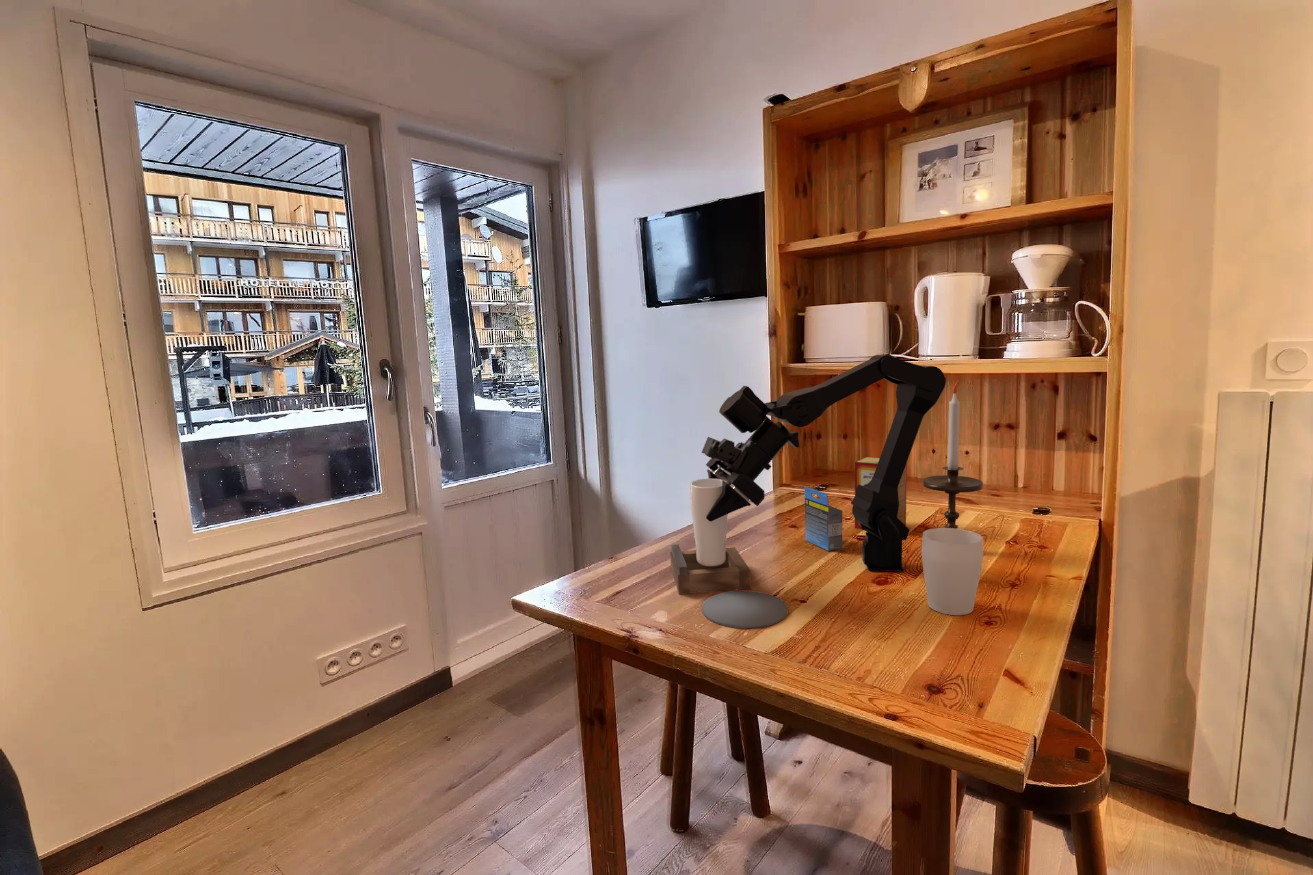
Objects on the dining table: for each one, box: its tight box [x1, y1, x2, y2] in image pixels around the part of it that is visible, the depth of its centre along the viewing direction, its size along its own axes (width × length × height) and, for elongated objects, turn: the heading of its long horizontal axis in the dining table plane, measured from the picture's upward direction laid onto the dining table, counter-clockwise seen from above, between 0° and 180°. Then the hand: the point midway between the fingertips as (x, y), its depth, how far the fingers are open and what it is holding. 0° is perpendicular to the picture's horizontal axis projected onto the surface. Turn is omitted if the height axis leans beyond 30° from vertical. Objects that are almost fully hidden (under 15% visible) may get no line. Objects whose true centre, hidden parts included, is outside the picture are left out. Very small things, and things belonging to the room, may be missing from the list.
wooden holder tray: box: [669, 544, 752, 595], centre depth 121 cm, size 13×13×5 cm
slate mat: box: [701, 590, 789, 629], centre depth 107 cm, size 14×14×1 cm
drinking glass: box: [689, 478, 729, 566], centre depth 117 cm, size 7×7×15 cm
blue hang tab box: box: [803, 485, 843, 552], centre depth 137 cm, size 9×4×12 cm, turn 20°
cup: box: [920, 527, 984, 616], centre depth 103 cm, size 9×9×12 cm
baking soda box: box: [854, 456, 908, 530], centre depth 147 cm, size 10×6×16 cm
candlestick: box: [922, 378, 984, 529], centre depth 129 cm, size 11×11×35 cm
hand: (703, 514), depth 116 cm, fingers closed on drinking glass, 7 cm apart
